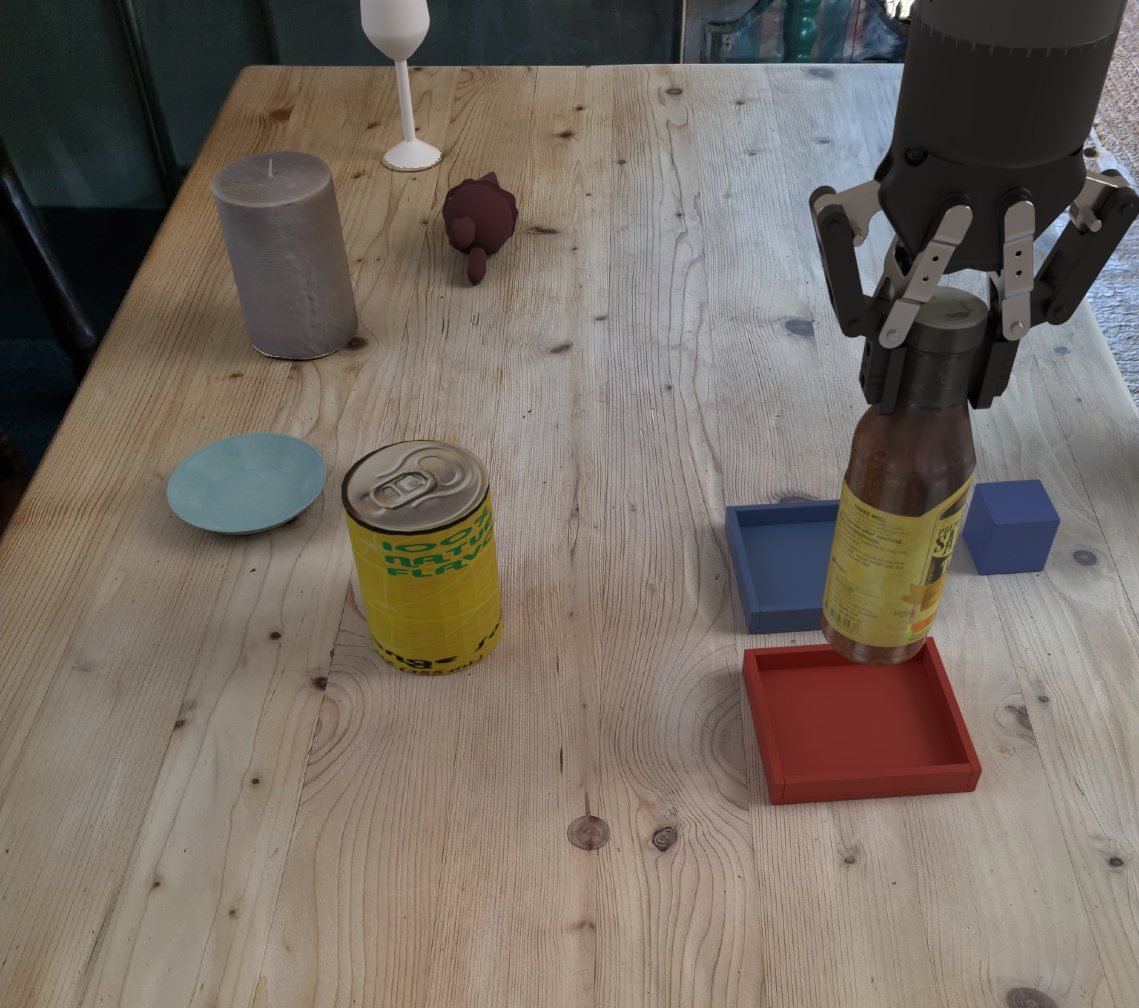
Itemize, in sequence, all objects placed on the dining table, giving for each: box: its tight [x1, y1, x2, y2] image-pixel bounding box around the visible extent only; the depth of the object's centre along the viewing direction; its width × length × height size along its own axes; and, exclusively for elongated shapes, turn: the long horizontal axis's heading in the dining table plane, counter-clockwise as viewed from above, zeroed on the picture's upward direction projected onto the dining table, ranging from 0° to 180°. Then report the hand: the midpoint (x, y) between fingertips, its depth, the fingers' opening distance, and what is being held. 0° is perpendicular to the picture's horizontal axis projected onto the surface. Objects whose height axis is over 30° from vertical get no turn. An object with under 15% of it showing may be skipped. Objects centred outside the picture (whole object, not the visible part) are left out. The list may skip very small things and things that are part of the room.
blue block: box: [961, 478, 1061, 576], centre depth 84 cm, size 4×4×4 cm
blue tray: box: [723, 498, 840, 635], centre depth 84 cm, size 12×11×2 cm
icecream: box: [441, 171, 520, 286], centre depth 114 cm, size 7×7×15 cm
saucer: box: [166, 431, 327, 536], centre depth 91 cm, size 12×12×2 cm
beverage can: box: [340, 439, 504, 677], centre depth 78 cm, size 9×9×12 cm
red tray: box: [741, 636, 983, 806], centre depth 75 cm, size 12×11×2 cm
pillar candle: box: [209, 150, 359, 360], centre depth 102 cm, size 10×10×15 cm
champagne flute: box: [359, 0, 441, 168], centre depth 121 cm, size 7×7×24 cm
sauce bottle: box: [821, 285, 989, 666], centre depth 62 cm, size 7×6×20 cm
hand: (928, 401), depth 58 cm, fingers closed on sauce bottle, 4 cm apart
